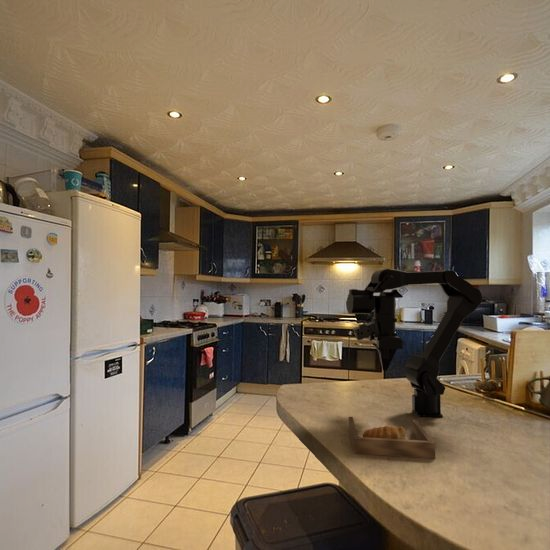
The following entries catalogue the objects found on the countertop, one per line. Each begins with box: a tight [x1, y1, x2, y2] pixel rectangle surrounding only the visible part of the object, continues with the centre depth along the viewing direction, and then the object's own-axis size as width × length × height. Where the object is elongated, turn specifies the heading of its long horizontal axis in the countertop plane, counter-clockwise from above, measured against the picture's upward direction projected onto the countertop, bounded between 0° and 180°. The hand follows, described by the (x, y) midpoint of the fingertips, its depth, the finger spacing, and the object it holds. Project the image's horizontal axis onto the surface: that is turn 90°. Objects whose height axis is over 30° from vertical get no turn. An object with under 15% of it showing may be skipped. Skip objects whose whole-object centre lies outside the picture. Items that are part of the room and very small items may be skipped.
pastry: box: [362, 425, 407, 440], centre depth 79 cm, size 9×7×4 cm
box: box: [348, 416, 436, 459], centre depth 79 cm, size 16×14×3 cm
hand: (384, 370), depth 99 cm, fingers closed
